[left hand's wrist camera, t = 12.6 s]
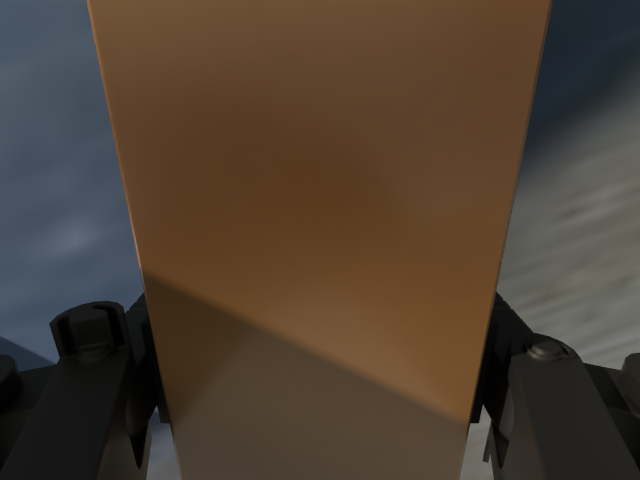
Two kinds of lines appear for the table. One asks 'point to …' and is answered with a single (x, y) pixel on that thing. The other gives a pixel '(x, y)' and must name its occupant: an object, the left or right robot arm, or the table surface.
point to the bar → (319, 219)
